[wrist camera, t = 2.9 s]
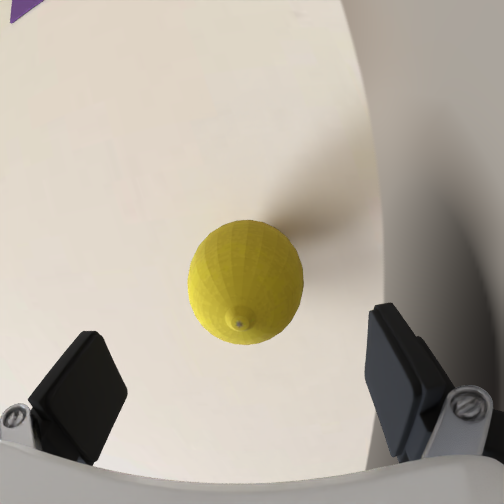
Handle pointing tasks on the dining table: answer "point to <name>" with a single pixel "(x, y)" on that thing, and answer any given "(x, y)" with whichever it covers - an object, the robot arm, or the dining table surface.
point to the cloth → (21, 8)
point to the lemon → (245, 282)
